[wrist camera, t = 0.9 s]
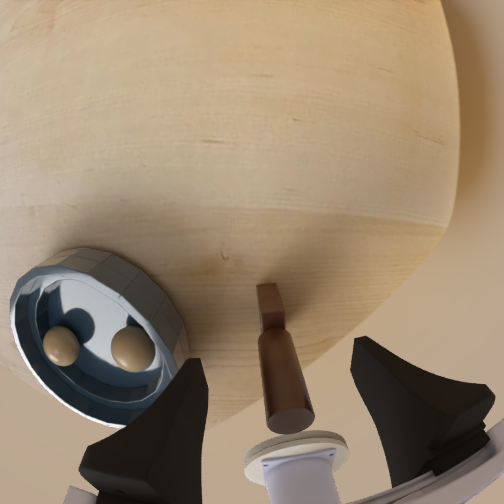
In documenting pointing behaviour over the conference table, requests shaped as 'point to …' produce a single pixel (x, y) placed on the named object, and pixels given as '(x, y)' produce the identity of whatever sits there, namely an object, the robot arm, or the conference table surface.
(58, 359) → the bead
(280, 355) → the stir paddle
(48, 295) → the bowl
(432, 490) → the robot arm
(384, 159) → the conference table surface
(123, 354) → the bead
